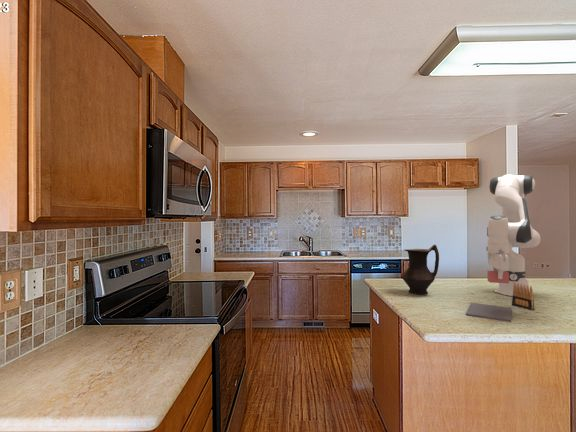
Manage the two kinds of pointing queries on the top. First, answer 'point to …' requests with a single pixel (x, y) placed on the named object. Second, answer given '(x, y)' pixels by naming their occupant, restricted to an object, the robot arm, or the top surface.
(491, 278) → the red rectangular block
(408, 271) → the jug
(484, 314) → the mat
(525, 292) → the ammunition clip
